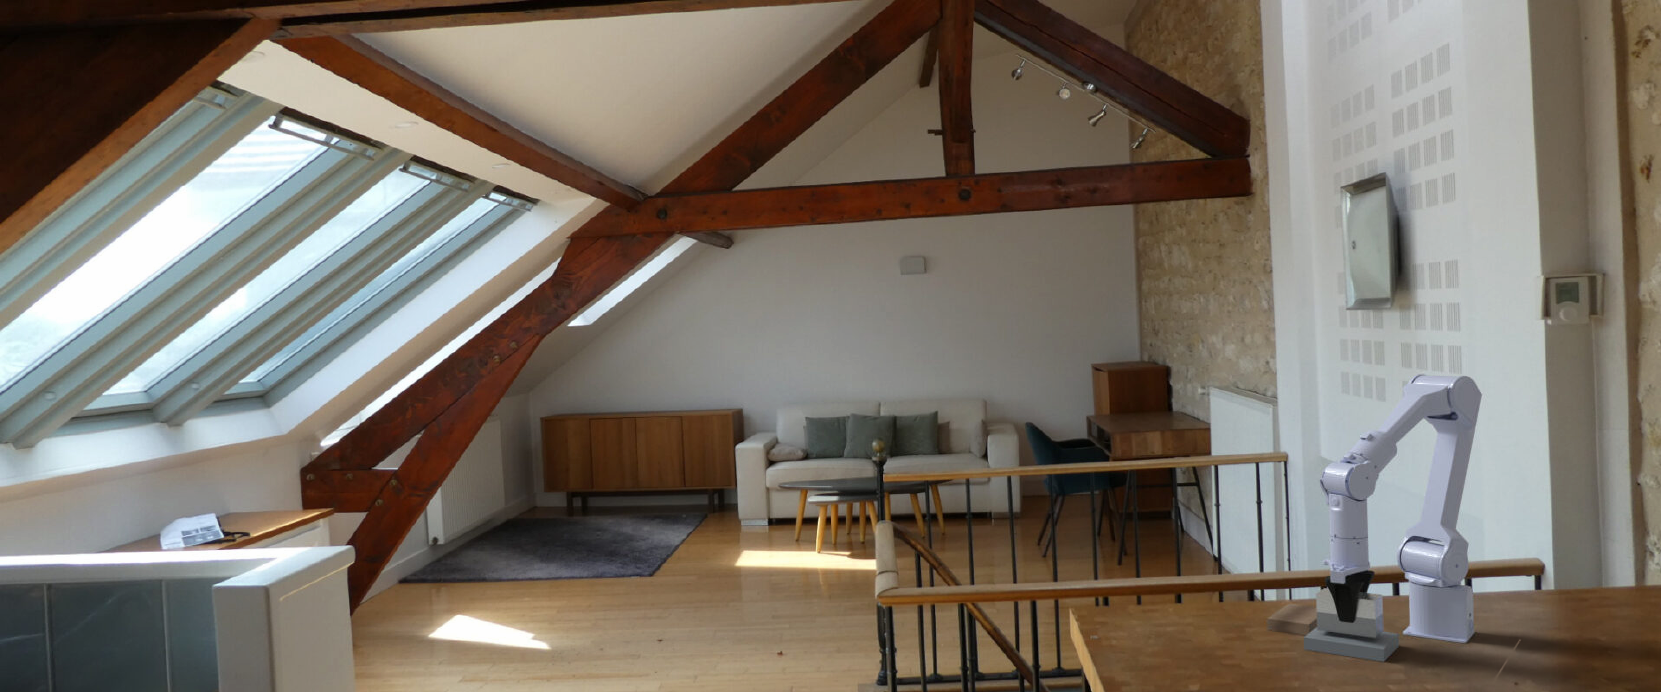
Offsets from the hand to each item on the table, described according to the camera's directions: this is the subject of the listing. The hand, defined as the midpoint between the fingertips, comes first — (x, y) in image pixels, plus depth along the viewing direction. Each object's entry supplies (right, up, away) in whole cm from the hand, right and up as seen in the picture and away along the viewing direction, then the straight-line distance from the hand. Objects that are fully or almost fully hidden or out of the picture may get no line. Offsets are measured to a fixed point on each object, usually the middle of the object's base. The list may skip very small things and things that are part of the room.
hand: (1350, 618), depth 181 cm
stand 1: (-3, -5, +14) cm, 15 cm away
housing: (0, -2, 0) cm, 2 cm away
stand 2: (0, -5, 0) cm, 5 cm away
